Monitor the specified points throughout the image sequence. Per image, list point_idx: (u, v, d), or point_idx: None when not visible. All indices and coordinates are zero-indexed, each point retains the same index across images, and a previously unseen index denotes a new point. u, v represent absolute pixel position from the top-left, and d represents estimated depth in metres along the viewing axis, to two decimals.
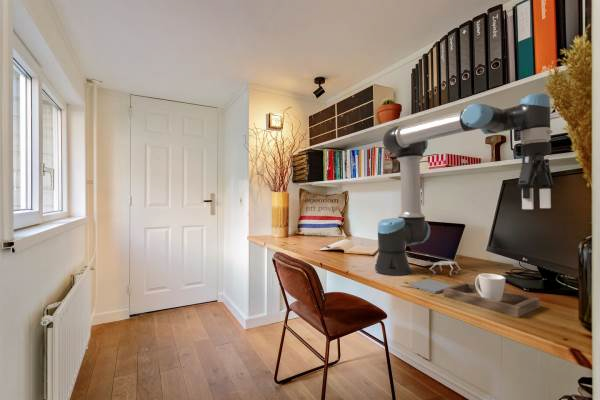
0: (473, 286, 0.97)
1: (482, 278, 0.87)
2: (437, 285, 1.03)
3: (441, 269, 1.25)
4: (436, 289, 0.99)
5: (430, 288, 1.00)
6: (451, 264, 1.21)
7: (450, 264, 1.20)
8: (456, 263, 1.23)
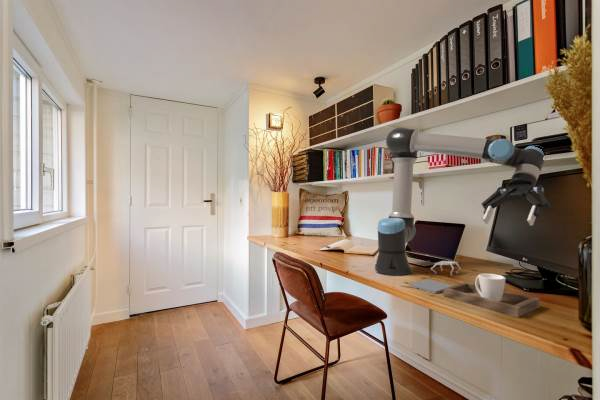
0: (473, 286, 0.97)
1: (482, 278, 0.87)
2: (437, 285, 1.03)
3: (442, 269, 1.25)
4: (436, 289, 0.99)
5: (430, 288, 1.00)
6: (452, 264, 1.21)
7: (451, 264, 1.20)
8: (457, 263, 1.23)
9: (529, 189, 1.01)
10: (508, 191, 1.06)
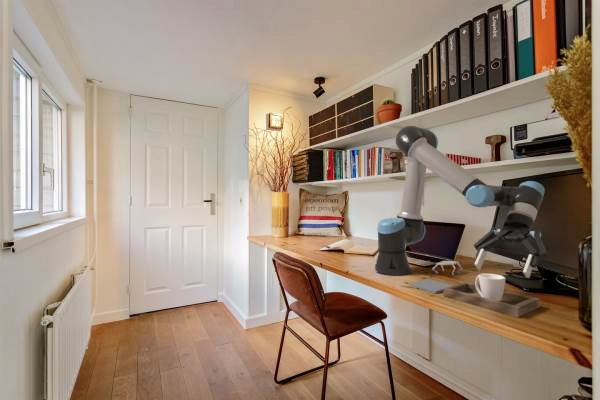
0: (473, 286, 0.97)
1: (482, 278, 0.87)
2: (437, 285, 1.03)
3: (443, 269, 1.26)
4: (436, 289, 0.99)
5: (430, 288, 1.00)
6: (453, 264, 1.21)
7: (452, 264, 1.20)
8: (458, 263, 1.23)
9: (525, 233, 0.92)
10: (502, 233, 0.96)
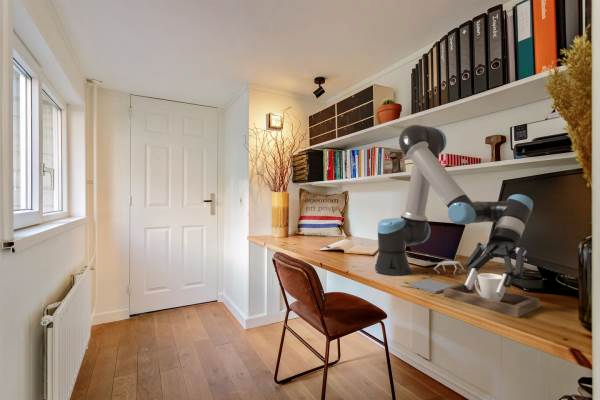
0: (473, 286, 0.97)
1: (481, 278, 0.87)
2: (437, 285, 1.03)
3: (444, 269, 1.26)
4: (436, 289, 0.99)
5: (430, 288, 1.00)
6: None
7: (454, 264, 1.20)
8: (459, 263, 1.23)
9: (510, 249, 0.90)
10: (490, 249, 0.93)
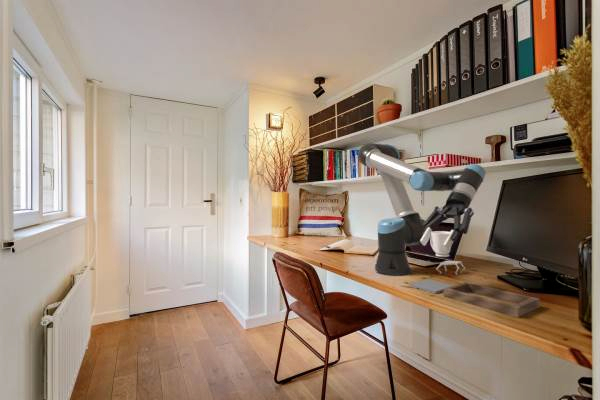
0: (473, 286, 0.97)
1: (433, 234, 1.00)
2: (437, 285, 1.03)
3: (446, 269, 1.26)
4: (436, 289, 0.99)
5: (430, 288, 1.00)
6: None
7: (456, 264, 1.21)
8: (461, 263, 1.23)
9: (460, 209, 1.02)
10: (444, 210, 1.06)
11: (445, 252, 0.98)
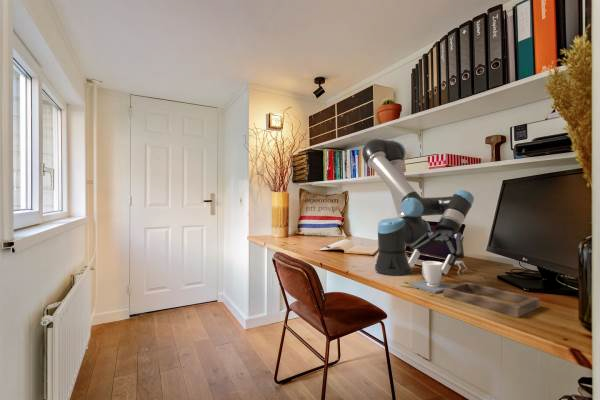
0: (473, 286, 0.97)
1: (424, 264, 1.03)
2: None
3: None
4: (436, 289, 0.99)
5: (430, 288, 1.00)
6: None
7: (458, 264, 1.21)
8: (462, 262, 1.24)
9: (450, 236, 1.05)
10: (433, 236, 1.10)
11: (435, 282, 1.02)
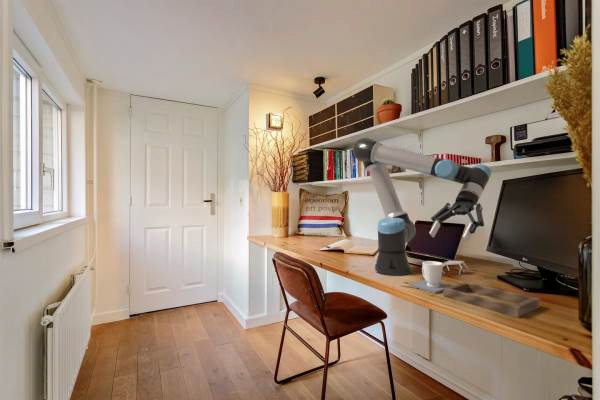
0: (473, 286, 0.97)
1: (424, 264, 1.03)
2: None
3: (449, 269, 1.26)
4: (436, 289, 0.99)
5: (430, 288, 1.00)
6: None
7: (459, 264, 1.21)
8: (463, 262, 1.24)
9: (470, 207, 1.12)
10: (453, 207, 1.16)
11: (436, 282, 1.02)
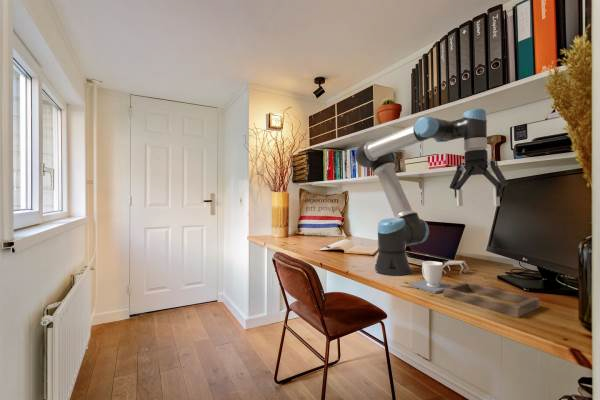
0: (473, 286, 0.97)
1: (424, 264, 1.03)
2: None
3: (449, 269, 1.26)
4: (436, 289, 0.99)
5: (430, 288, 1.00)
6: (461, 263, 1.21)
7: (460, 263, 1.21)
8: (464, 262, 1.24)
9: (484, 166, 1.07)
10: (467, 171, 1.11)
11: (436, 282, 1.02)
